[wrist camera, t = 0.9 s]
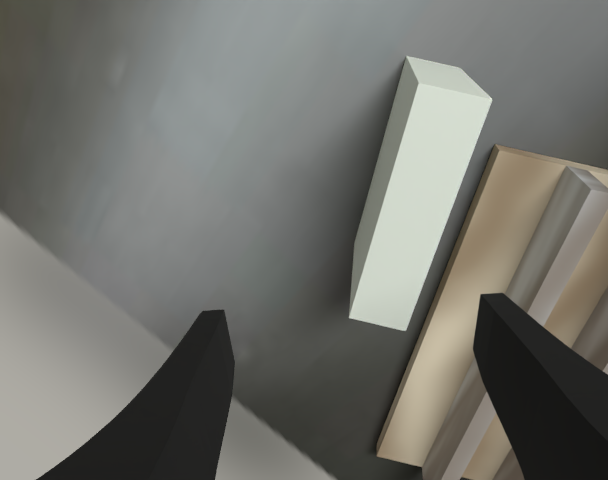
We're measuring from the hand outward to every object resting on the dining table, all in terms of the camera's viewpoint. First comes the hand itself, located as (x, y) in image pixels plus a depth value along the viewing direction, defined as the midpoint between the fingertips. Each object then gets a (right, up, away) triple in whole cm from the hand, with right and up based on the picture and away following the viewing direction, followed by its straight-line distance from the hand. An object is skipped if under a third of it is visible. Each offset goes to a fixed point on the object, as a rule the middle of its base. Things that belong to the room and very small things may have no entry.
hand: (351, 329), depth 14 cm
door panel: (+4, +6, +11) cm, 13 cm away
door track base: (+12, -4, +15) cm, 19 cm away
